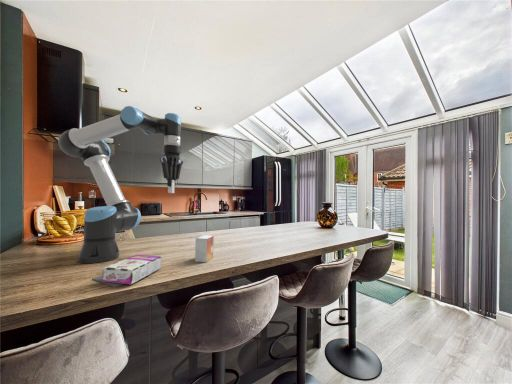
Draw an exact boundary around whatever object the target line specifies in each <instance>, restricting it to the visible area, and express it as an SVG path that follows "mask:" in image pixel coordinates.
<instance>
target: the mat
mask: <svg viewBox="0 0 512 384" xmlns="http://www.w3.org/2000/svg"><path fill="white" fill-rule="evenodd" d="M153 274H154V272H153V273H151V274H149V275H148V276H150V275H153ZM102 277H103V274H102V275H100V276H96V277H93V278H92V281H96V282H99V283H101V284H104V285H107V286H111V287H113V288H117V287H120V286H123V285H124V284H122V283H112V282H102Z"/></svg>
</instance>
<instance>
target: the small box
mask: <svg viewBox="0 0 512 384" xmlns="http://www.w3.org/2000/svg"><path fill="white" fill-rule="evenodd" d="M214 238H215V236H214V235H205V234H204V235H200V236H198V237H196V238H195V246H194V247H195V250H194V251H195V253H194V254H195V255H194V256H195V257H194V258H195V259H194V262H196V263H197V262H198V263H199V262H200V263H202V262H203V263H207V262H209V261H210V260H212V259H213V258H214V243H215V242H214V240H215V239H214Z"/></svg>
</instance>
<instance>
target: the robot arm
mask: <svg viewBox="0 0 512 384" xmlns="http://www.w3.org/2000/svg"><path fill="white" fill-rule="evenodd" d="M135 129H140V131H141V132H142V133H143V134H144V135H147V136H157V135H158V136H159V135H164V139H163V141H164V142H163V143H164V147H163V153H164V155H163V156H162V157H160V158H159V160H160V163H161V169H162V175H163V178H164V179H165V180H166V181H167V182H166V183H167V193H168V194H175V187H176V181H177V180H179V179H180V175H181V171H182V170H181V169H182V166H183V164H184V161H183V160H180V155H181V147H180V146H181V135H182V134H181V133H182V132H181V131H182V130H181V129H182V117H181V116H180V115H179V114H177V113H174V112H168V113H165V114H164V118H157V119H156V118H155V117H153V116H151V115H149V114H147V113H145V112H144V111H142V110H141V109H139V108H137V107H134V106H132V105H126V106H124V107H123V109H121V110H120V114H117V115H114V116H112V117H108V118H106V119H103V120H101V121H98V122H94V123H92V124H88V125H86V126H84V127H81V128H75V127H74V128H73V127H72V128H70V129H67V130H65V131H63V132H62V133H61V134H60V135H59V136H58V142H57V143H58V147H59V149H60V150H61V151H62V152H63V153H65V154H66V155H67V156H69V157H72V158H79V159H81V160H82V162H83V164H84V166H86V167H89V169H90V172H91V174H92V176H93V178H94V180H95V182H96V185H97V186H98V189H99V191H100V193H101V195H102V198H103V200H104V201H105V204H106V205H104V206H95V207H90V208H88V209H86V210H85V212H84V218H83V226H84V227H83V244H82V246H81V249H80V251H79V253H78V255H77V256H78V257H77V262H79V263H80V264H96V263H104V262H108V261H112V260H115V259H118V258H119V256H120V249H119V247H118V244H117V241H116V233H118V232H122V231H129V230H131V229H135V228H136V227H137V226H138V225H140V223H141V219H142V214H141V211H140V209H139V208H137V207H135V206H133V205H132V203H131V201H129V200H127V199H126V198H125V196H124V193H123V191H122V189H121V187H120V185H119V183H118V181H117V179H116V177H115V174H114V172H113V170H112V168H111V166H110V164H109V161H110V160H111V159H110V158H111V152H112V150H111V148H110V146H109V145H108V143H106V142H105V141H103V140H106V139H108V138H109V139H110V138H112V137H115V136H118V135H120V134H123V133H126V132H129V131H132V130H135Z"/></svg>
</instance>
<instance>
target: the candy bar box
mask: <svg viewBox="0 0 512 384" xmlns="http://www.w3.org/2000/svg"><path fill="white" fill-rule="evenodd" d="M161 268H162V256H161V255H160V256H159V255H158V256H157V255H149V254H148V255H147V254H134V255H132V256H130V257H128V258H124V259H122V260H120V261H119V260H118V261H117V262H115V263H112V264H109V265H107V266H103V267H102V275H103V277H102V282H112V283H122V284H123V285H133V284H135V283H136V282H138V281H140V280H142V279H143V278H146V277H148V276H150V275H152V274H151V273H153V274H154V273H155V272H157V271H158V270H160V269H161ZM149 274H150V275H149Z"/></svg>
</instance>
